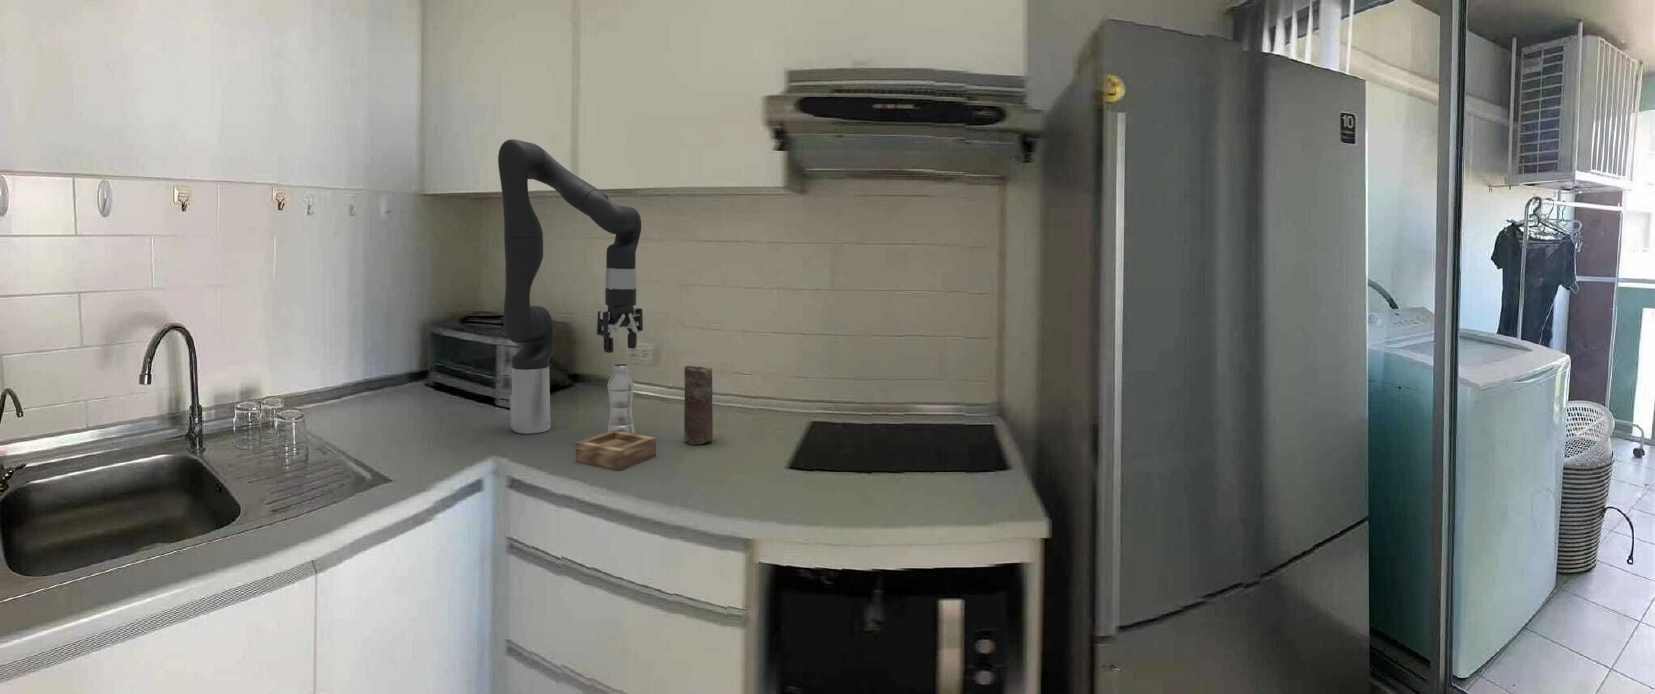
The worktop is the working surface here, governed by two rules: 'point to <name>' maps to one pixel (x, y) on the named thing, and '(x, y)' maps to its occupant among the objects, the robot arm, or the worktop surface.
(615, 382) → the plastic bottle
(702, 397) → the candle
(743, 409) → the worktop surface
